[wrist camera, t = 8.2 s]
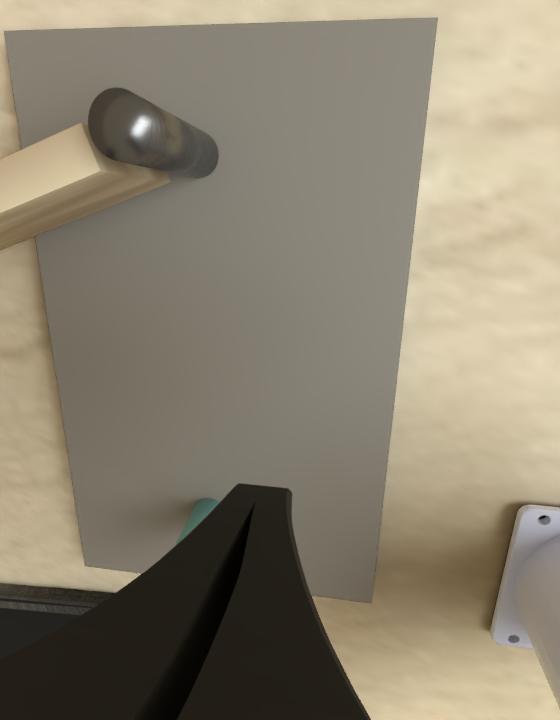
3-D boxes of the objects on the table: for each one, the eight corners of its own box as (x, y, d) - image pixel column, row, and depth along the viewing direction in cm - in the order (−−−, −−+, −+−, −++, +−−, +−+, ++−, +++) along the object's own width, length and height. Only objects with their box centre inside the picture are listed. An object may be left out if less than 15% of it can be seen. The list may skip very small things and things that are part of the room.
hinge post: (225, 134, 17) (148, 87, 10) (226, 180, 17) (153, 162, 11) (184, 134, 17) (84, 88, 11) (186, 179, 18) (91, 161, 11)
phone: (150, 705, 27) (-67, 678, 29) (158, 686, 28) (-52, 662, 30) (131, 605, 24) (-105, 584, 27) (140, 588, 25) (-88, 569, 28)
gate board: (432, 29, 15) (437, 17, 14) (370, 587, 23) (371, 603, 22) (22, 40, 17) (3, 30, 16) (94, 552, 25) (84, 566, 24)
